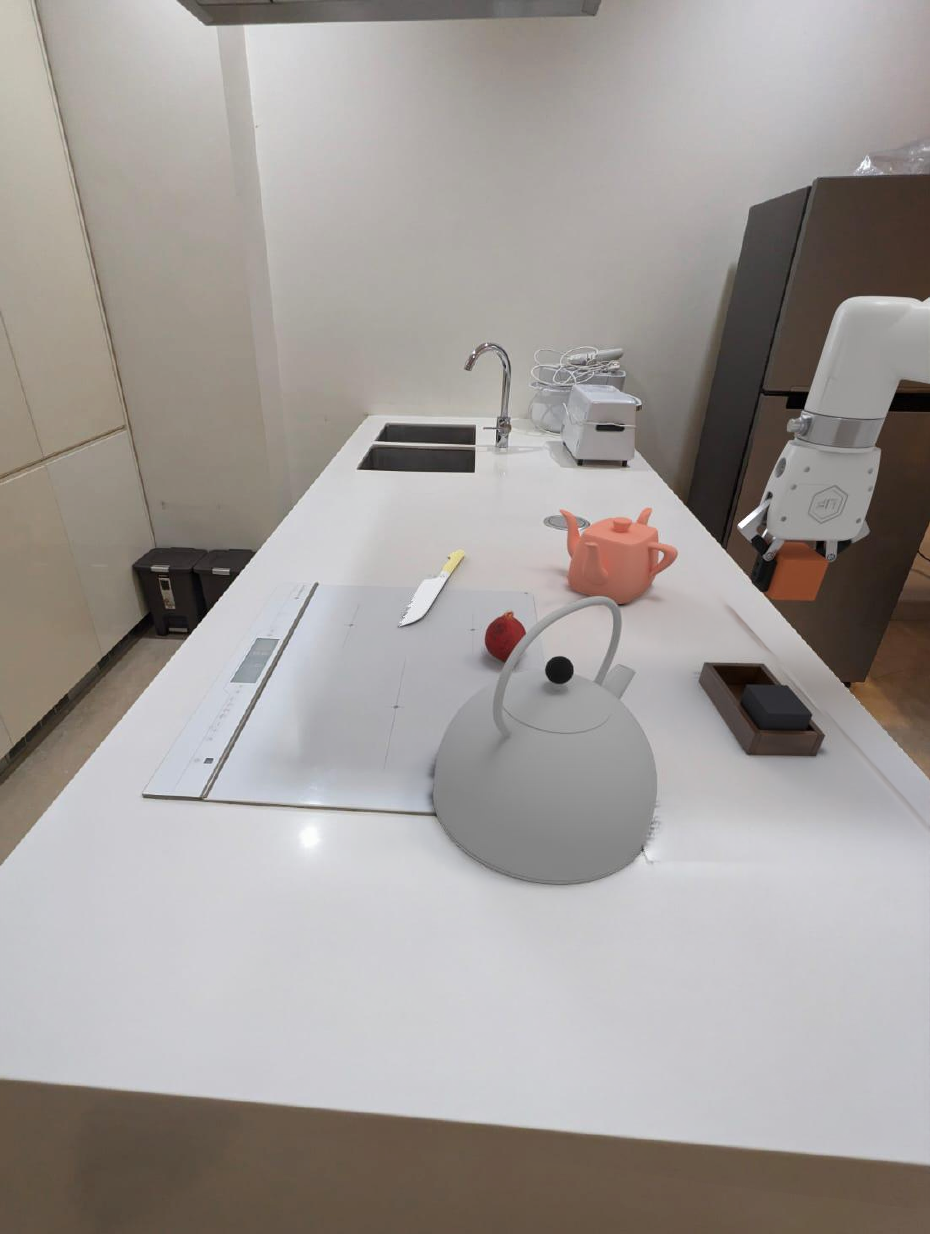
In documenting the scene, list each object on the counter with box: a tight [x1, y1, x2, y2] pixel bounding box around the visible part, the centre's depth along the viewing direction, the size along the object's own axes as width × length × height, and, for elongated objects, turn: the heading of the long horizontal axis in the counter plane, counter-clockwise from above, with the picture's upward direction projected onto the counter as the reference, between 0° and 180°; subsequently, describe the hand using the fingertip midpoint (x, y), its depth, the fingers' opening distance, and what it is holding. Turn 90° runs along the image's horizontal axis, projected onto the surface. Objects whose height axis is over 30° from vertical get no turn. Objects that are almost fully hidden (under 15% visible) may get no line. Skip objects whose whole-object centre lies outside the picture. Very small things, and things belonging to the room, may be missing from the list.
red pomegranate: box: [484, 609, 527, 663], centre depth 88 cm, size 6×6×8 cm
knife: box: [399, 549, 466, 627], centre depth 111 cm, size 1×33×5 cm
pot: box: [558, 507, 679, 605], centre depth 109 cm, size 18×17×12 cm
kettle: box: [432, 596, 658, 885], centre depth 61 cm, size 25×23×22 cm
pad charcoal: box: [740, 684, 814, 731], centre depth 75 cm, size 5×6×5 cm
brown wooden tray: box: [698, 661, 826, 757], centre depth 78 cm, size 8×16×4 cm, turn 0°
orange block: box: [764, 541, 830, 602], centre depth 76 cm, size 5×6×5 cm
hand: (782, 586), depth 77 cm, fingers closed on orange block, 5 cm apart
